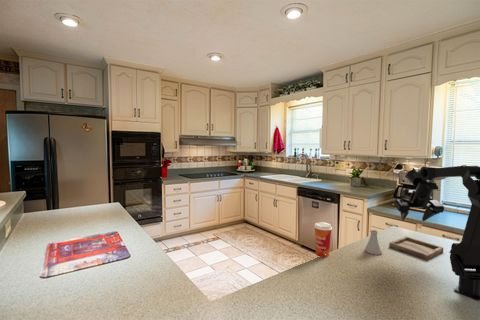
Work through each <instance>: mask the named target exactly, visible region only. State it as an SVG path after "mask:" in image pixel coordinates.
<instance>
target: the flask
mask: <svg viewBox="0 0 480 320" xmlns="http://www.w3.org/2000/svg"><path fill="white" fill-rule="evenodd" d="M369 231H370V236H369V239H368V242H367V243H366V245H365V248H364V252H366V253H367V254H371V255H377V256H379V255H382V248H381V246H380V244H379V240H378V233H379V231H378V230H376V229H370V230H369Z"/></svg>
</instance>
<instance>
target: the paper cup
mask: <svg viewBox="0 0 480 320" xmlns="http://www.w3.org/2000/svg"><path fill="white" fill-rule="evenodd" d="M313 227H314V236H315V237H314V239H315V240H314V241H315V242H314V243H315V255H316V257H320V256H322V257H320V258H328V257H329V256H330V248H331V239H332V238H331V237H332V236H331V235H332V230H333V227H332V224H331V223H330V222H329V223H328V222H324V221H323V222H322V221H319V222H315V224H314V226H313ZM325 254H326V255H325Z"/></svg>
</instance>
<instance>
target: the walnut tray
mask: <svg viewBox="0 0 480 320" xmlns="http://www.w3.org/2000/svg"><path fill="white" fill-rule="evenodd" d="M388 247H389V248H391V249H394V250H397V251H399V252H402V253H405V254H407V255H408V254H409V255H411V256H414V257H416V258H419V259H422V260H425V261H430V260H431V259H433V258H435V257H437V256H438V255H440V254H442V253H444V247H443V246H439V245H436V244H433V243H430V242H427V241H423V240H420V239H416V238H413V237H410V236H406V235H405V236H403V237H400V238H398V239H395V240H393V241H390V242H389V246H388Z"/></svg>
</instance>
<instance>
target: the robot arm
mask: <svg viewBox="0 0 480 320" xmlns="http://www.w3.org/2000/svg"><path fill="white" fill-rule="evenodd" d="M458 177H461V179H462V185H463V186H464V187H465V188H466V189H467V197H468V200H469V202H470V203H471V206H470V209H469V213H468V216H467V221H466V223H465V227H464V230H463V234H462V238H461V241H460V242H453V243H452V244H451V247H450V250H449V261H450V265H451V271H452V272H453V273H454V275H455V276H458V285H457V286H456V287H455V288H453V291H454V292H456V293H459V294H461V295H463V296H466V297H469V298H471V299H474V300H476V301H480V166H479V165H476V164H463V165H458V166H448V167H447V166H446V167H444V166H426V165H425V166H424V165H423V166H421V167H420V169H419V168H418V167H412V169H411V170H409V171H408V172H407V173H405V178H406V179H407V180H408V181H409V182H410V184H412V186H414V187H416V188H415V189H408V188H402V189H401V193H400V194H401V196H403V197H405V198H408V201H409V202H407V201H406V200H405V199H394V200H393V203H392V204H393V205H394V207H395V208H396V210H398V211H399V212H400V219H401V221H405V219H406V218H407V217H408V214H409V213H410V212H409V211H410V210H411V209H425V210H424V212H423V214H422V217H421V221H423V222H425V221H427V220H428V219H430V218H432V217H434V216H435V215H439V214H440V213H444V211H445V206H444V205H443V204H441V202H439V200H438V199H434V198H433V197H432V194H433V193H434V190H439V189H440V188H439V186H438V185H437V183H436V182H433V181H441V180H445V179H446V178H458ZM474 178H475V179H474Z"/></svg>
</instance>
